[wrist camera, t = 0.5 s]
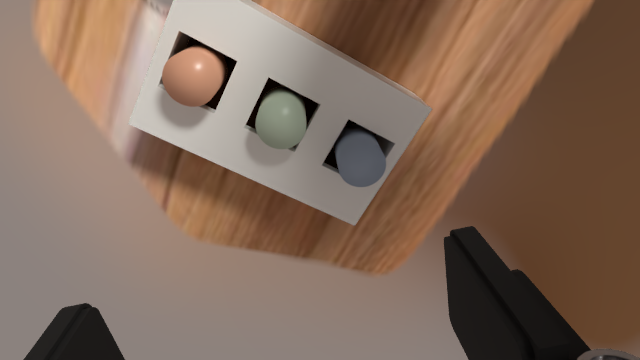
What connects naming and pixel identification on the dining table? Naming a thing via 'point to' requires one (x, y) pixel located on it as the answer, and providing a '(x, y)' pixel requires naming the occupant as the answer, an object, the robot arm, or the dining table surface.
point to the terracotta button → (194, 75)
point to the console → (293, 72)
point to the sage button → (281, 118)
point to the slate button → (359, 156)
